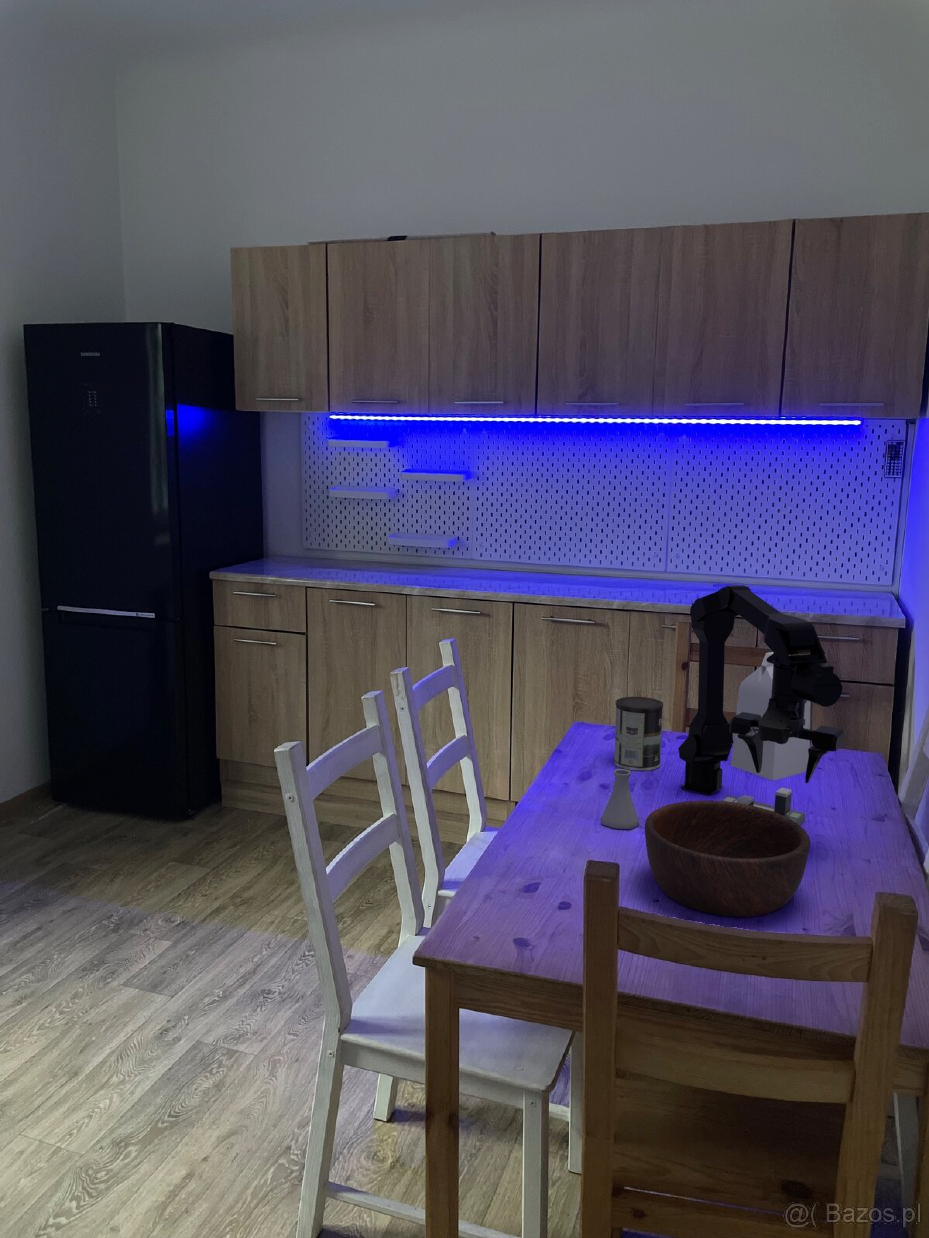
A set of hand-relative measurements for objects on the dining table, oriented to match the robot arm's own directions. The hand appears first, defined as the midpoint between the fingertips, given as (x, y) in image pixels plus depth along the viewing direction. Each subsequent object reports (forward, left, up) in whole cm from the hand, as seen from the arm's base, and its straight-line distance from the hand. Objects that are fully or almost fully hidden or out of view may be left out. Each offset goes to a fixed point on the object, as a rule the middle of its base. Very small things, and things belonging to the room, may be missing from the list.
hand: (782, 777), depth 172 cm
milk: (-15, +37, -11) cm, 41 cm away
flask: (-25, -12, -11) cm, 30 cm away
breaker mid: (-6, -1, -9) cm, 11 cm away
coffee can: (-39, +21, -11) cm, 46 cm away
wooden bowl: (+1, -26, -11) cm, 29 cm away
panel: (-6, 0, -11) cm, 13 cm away
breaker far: (-2, +8, -9) cm, 12 cm away
